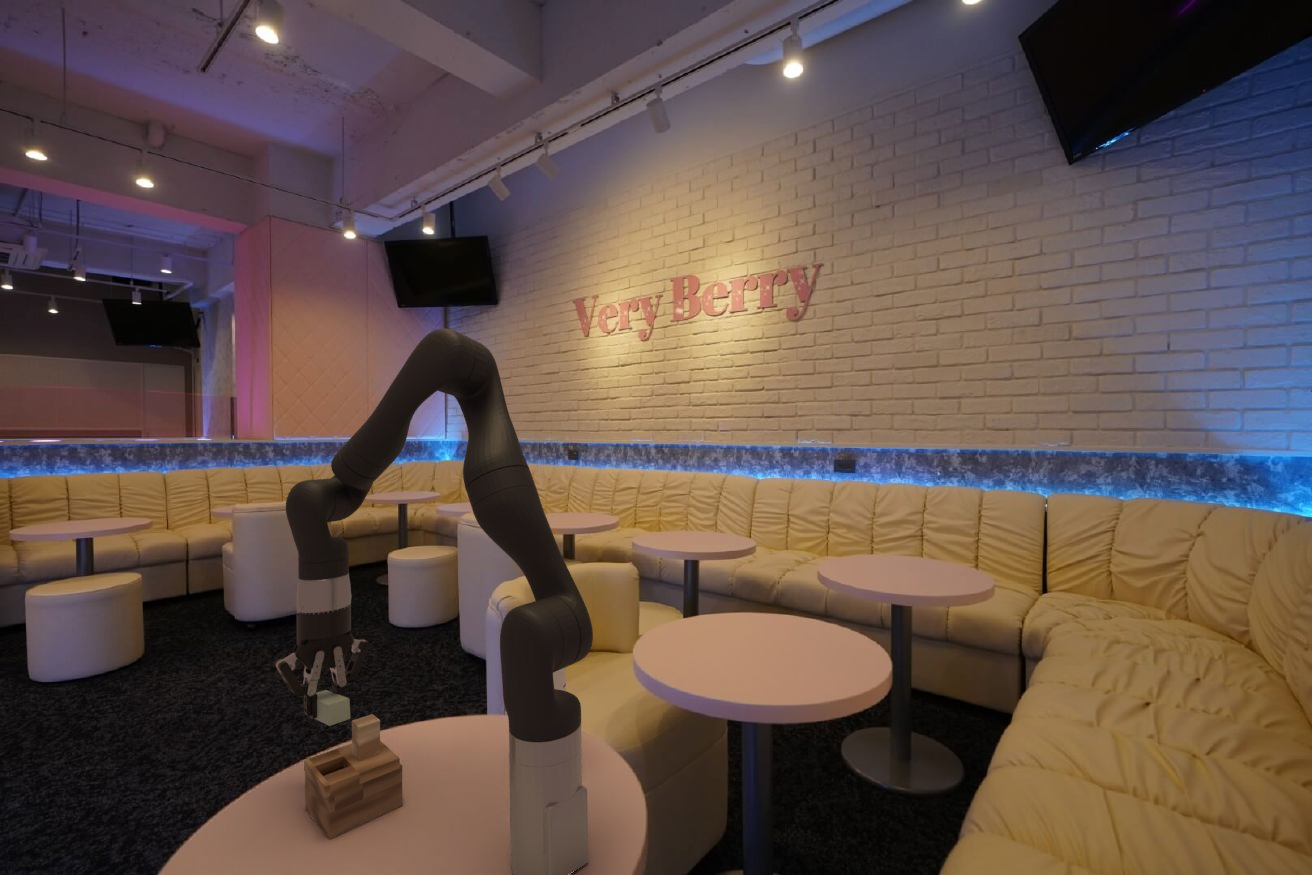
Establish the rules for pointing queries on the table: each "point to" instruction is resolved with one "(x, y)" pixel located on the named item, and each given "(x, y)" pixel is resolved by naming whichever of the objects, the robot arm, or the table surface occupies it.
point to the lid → (353, 759)
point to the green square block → (332, 708)
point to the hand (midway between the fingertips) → (324, 712)
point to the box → (353, 802)
